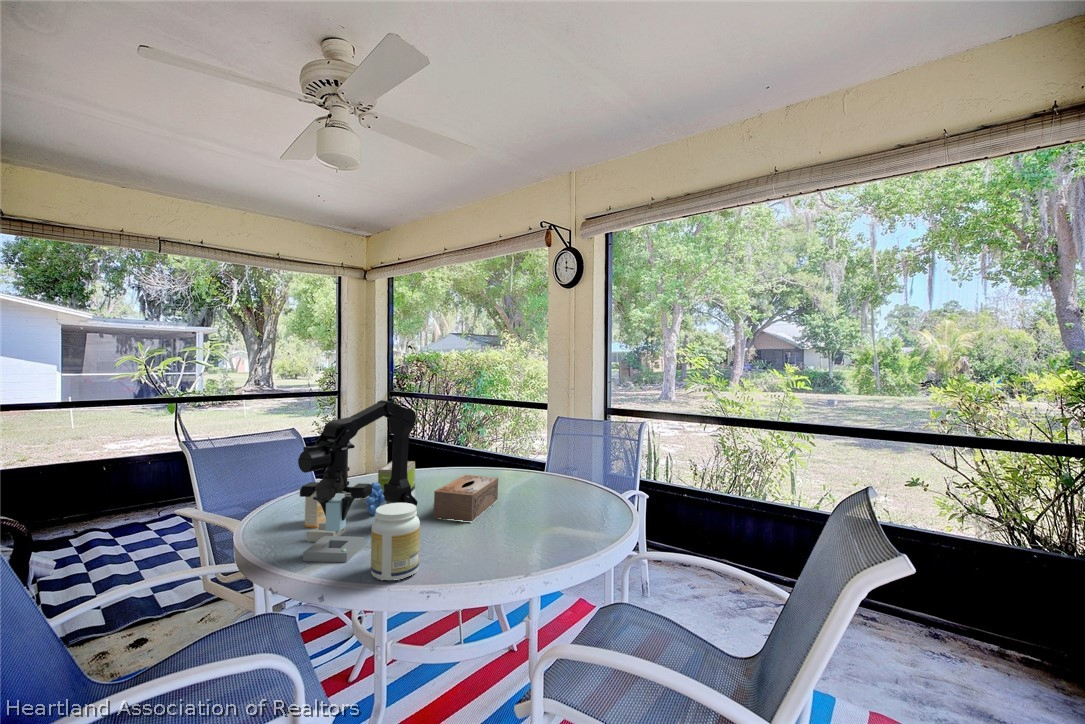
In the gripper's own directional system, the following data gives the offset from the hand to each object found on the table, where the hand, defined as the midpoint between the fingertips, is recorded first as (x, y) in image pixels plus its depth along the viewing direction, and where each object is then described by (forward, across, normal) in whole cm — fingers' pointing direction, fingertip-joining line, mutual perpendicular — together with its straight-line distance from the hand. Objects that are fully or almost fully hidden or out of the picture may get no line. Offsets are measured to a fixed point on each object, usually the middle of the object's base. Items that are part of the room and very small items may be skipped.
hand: (335, 519), depth 135 cm
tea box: (+10, +2, +49) cm, 50 cm away
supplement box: (+10, -16, +23) cm, 30 cm away
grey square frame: (+10, -8, +12) cm, 17 cm away
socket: (+9, 0, 0) cm, 9 cm away
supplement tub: (+10, +21, -11) cm, 26 cm away
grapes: (+10, 0, +33) cm, 34 cm away
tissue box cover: (+10, +31, +42) cm, 53 cm away
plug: (+2, 0, 0) cm, 2 cm away
